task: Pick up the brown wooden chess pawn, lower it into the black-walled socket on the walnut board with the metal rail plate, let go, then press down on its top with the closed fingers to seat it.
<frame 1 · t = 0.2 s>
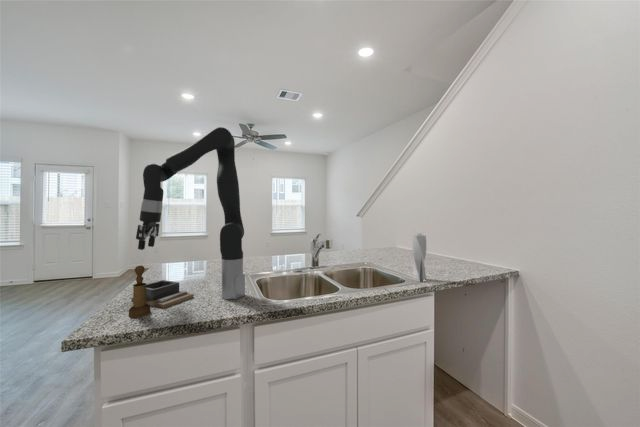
hand: (146, 247, 109), 23 cm above the counter, tool pointing down, fingers open, 8 cm apart
brown wooden chess pawn: (139, 314, 94), on the counter
skyscraper: (418, 280, 143), on the counter
socket board: (163, 299, 110), on the counter
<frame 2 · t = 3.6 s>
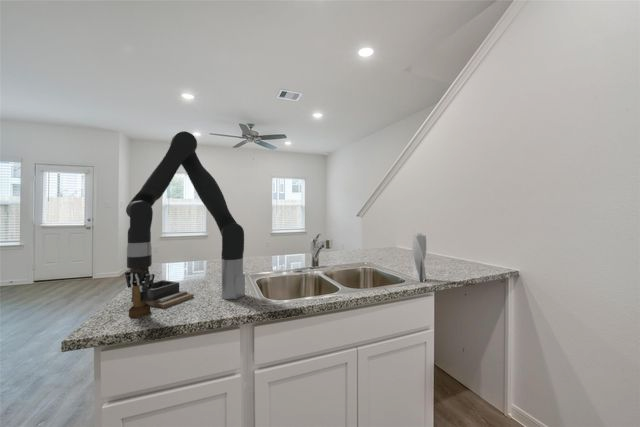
hand: (139, 299, 94), 5 cm above the counter, tool pointing down, fingers closed on brown wooden chess pawn, 4 cm apart
brown wooden chess pawn: (139, 314, 94), on the counter, touching gripper
everything else where it was.
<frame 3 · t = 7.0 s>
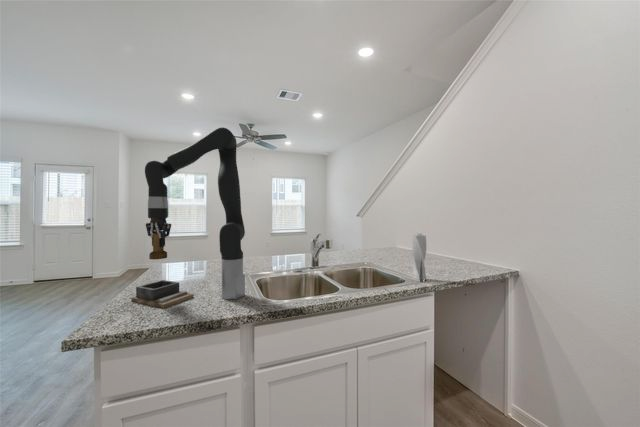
hand: (158, 246, 111), 23 cm above the counter, tool pointing down, fingers closed on brown wooden chess pawn, 4 cm apart
brown wooden chess pawn: (158, 258, 111), point 18 cm above the counter, touching gripper
everything else where it was.
when the fingers open (9 cm above the counter, at t = 10.6 s): brown wooden chess pawn drops 1 cm, resting on socket board.
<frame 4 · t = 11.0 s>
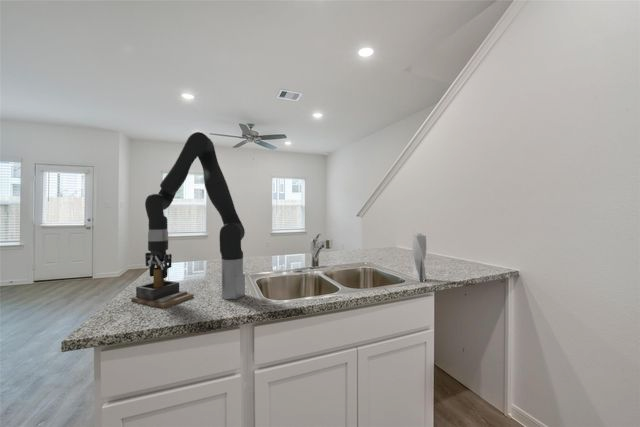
hand: (158, 276, 111), 9 cm above the counter, tool pointing down, fingers open, 7 cm apart
brown wooden chess pawn: (158, 294, 111), point 2 cm above the counter, touching socket board
everything else where it was.
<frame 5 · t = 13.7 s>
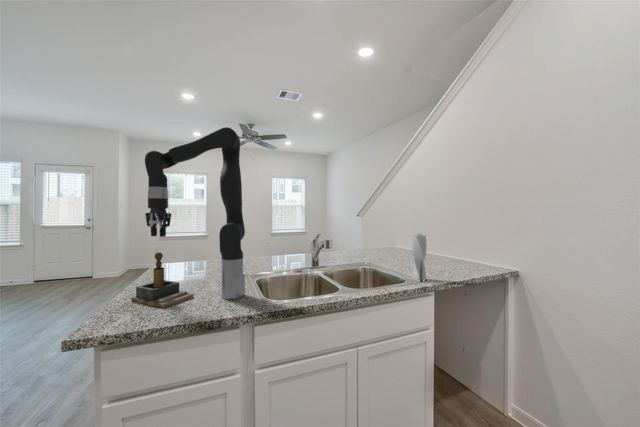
hand: (158, 236, 111), 27 cm above the counter, tool pointing down, fingers open, 5 cm apart
nothing on the counter moved.
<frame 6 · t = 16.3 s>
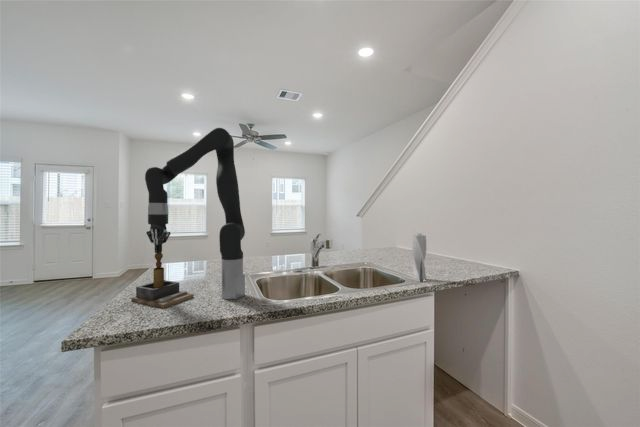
hand: (158, 252, 111), 20 cm above the counter, tool pointing down, fingers closed
brown wooden chess pawn: (158, 294, 111), point 2 cm above the counter, touching gripper, socket board
everything else where it was.
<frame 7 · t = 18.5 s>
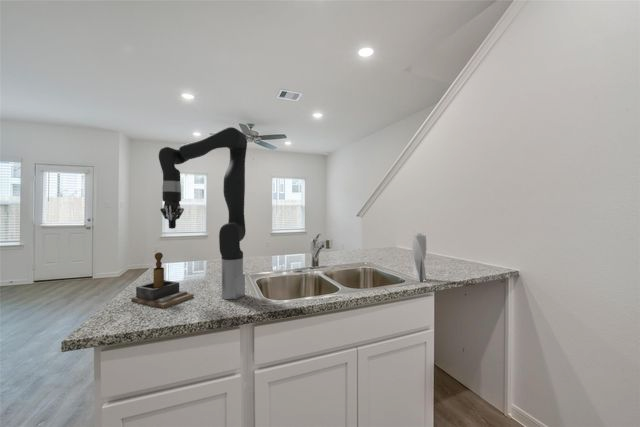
hand: (172, 228, 118), 30 cm above the counter, tool pointing down, fingers closed
brown wooden chess pawn: (158, 294, 111), point 2 cm above the counter, touching socket board
everything else where it was.
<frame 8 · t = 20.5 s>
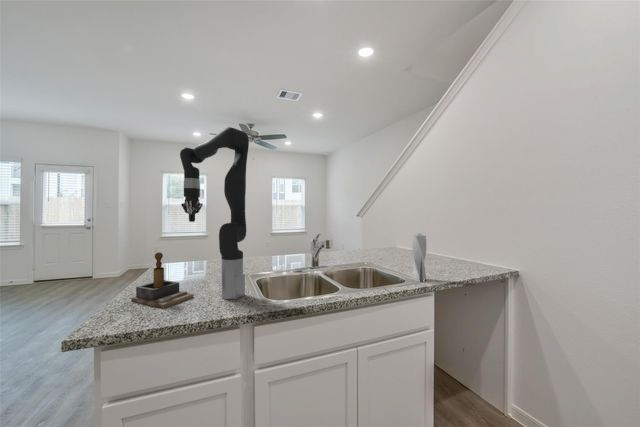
hand: (191, 221, 129), 33 cm above the counter, tool pointing down, fingers closed
nothing on the counter moved.
at the end: brown wooden chess pawn 0.2 cm from the target spot on the socket board, point 1.9 cm above the socket board's base; brown wooden chess pawn tilted 0°; the gripper is holding nothing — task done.
